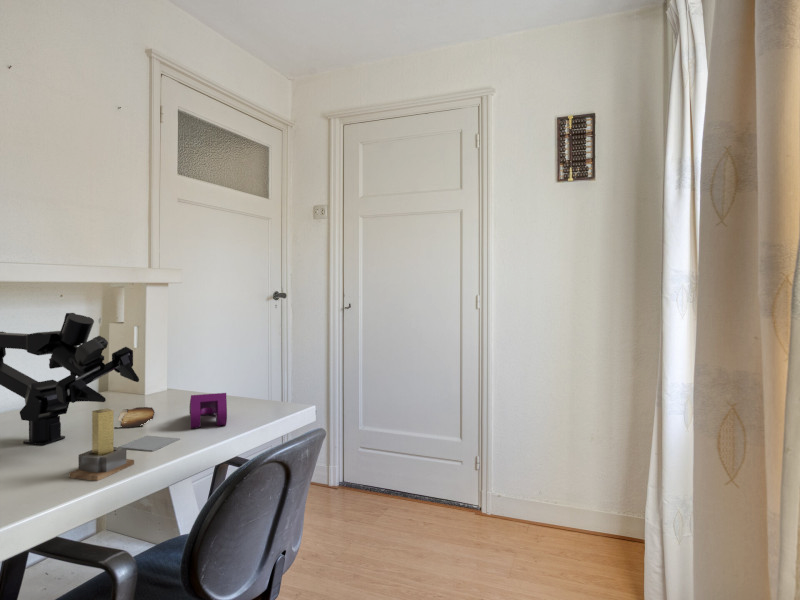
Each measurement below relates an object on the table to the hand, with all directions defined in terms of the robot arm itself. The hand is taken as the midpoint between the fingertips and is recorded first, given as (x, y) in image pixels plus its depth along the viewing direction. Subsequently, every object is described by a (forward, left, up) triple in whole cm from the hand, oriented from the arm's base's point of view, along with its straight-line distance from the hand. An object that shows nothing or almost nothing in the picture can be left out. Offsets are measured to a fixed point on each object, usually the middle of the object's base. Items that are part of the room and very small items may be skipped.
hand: (122, 390), depth 120 cm
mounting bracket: (+3, +29, -15) cm, 33 cm away
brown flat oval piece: (-20, +28, -15) cm, 37 cm away
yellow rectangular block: (+6, -12, -15) cm, 20 cm away
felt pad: (+2, +7, -15) cm, 16 cm away
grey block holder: (+6, -12, -15) cm, 20 cm away
